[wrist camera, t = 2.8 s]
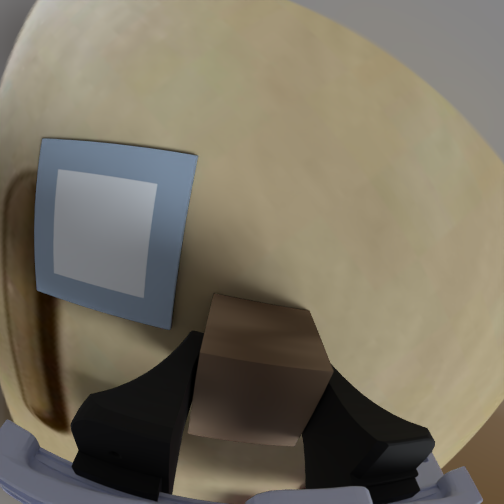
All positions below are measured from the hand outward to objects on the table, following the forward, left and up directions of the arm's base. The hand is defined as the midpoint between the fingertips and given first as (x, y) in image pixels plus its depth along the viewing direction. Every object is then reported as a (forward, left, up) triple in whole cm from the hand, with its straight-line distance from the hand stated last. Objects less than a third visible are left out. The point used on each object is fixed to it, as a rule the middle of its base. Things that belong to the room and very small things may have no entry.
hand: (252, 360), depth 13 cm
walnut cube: (0, 0, -1) cm, 1 cm away
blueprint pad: (+8, -4, -1) cm, 9 cm away
